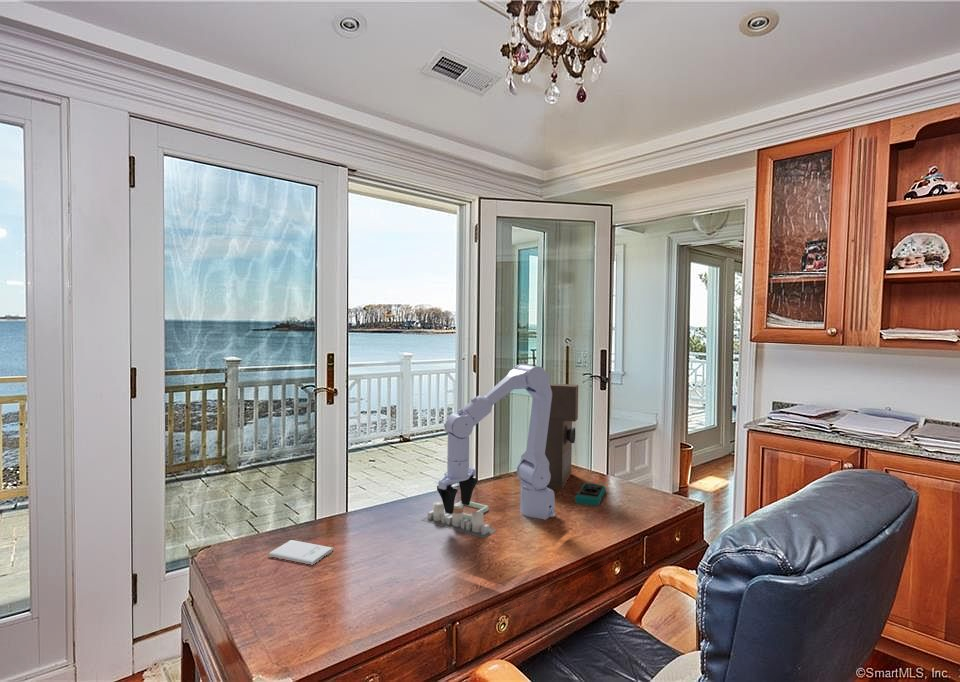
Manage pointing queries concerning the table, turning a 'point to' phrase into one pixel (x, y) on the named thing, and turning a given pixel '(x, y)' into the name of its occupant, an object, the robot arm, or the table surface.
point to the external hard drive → (301, 552)
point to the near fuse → (477, 522)
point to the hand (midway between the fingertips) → (457, 508)
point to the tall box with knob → (561, 433)
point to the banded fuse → (457, 515)
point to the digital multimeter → (590, 494)
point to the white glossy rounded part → (438, 511)
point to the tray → (482, 507)
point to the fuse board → (465, 525)
